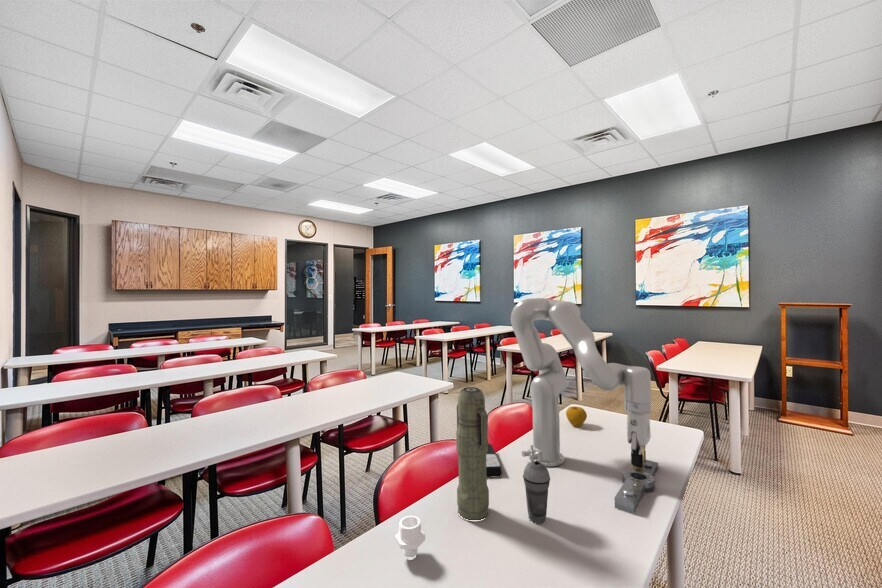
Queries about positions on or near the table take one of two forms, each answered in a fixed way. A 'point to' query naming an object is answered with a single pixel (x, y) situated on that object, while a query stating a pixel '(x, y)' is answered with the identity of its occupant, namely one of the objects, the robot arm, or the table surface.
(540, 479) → the mini scuba tank
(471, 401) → the thermos
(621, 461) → the table surface
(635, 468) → the brass pin
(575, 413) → the apple
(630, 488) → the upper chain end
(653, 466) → the lower chain end
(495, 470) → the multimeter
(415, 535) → the pipe fitting
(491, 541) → the table surface
